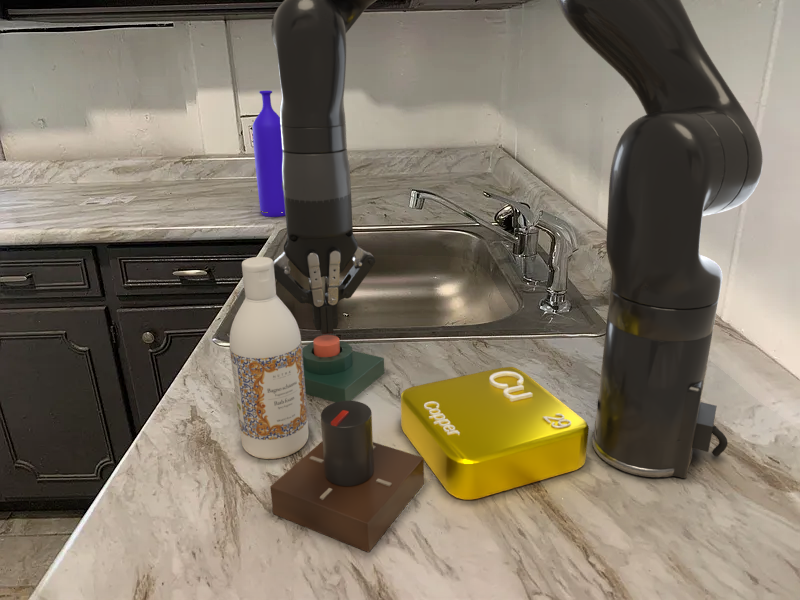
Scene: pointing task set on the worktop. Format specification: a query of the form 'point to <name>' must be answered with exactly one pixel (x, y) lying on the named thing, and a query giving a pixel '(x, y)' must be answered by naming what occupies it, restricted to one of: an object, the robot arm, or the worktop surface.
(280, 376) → the bath foam
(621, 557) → the worktop surface
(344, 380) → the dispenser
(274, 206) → the bottle
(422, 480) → the dial panel
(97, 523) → the worktop surface
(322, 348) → the red button cap
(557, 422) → the element tile
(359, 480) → the dial
